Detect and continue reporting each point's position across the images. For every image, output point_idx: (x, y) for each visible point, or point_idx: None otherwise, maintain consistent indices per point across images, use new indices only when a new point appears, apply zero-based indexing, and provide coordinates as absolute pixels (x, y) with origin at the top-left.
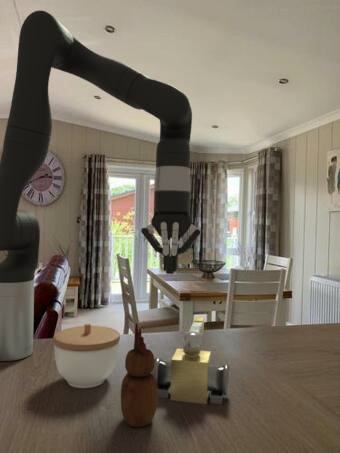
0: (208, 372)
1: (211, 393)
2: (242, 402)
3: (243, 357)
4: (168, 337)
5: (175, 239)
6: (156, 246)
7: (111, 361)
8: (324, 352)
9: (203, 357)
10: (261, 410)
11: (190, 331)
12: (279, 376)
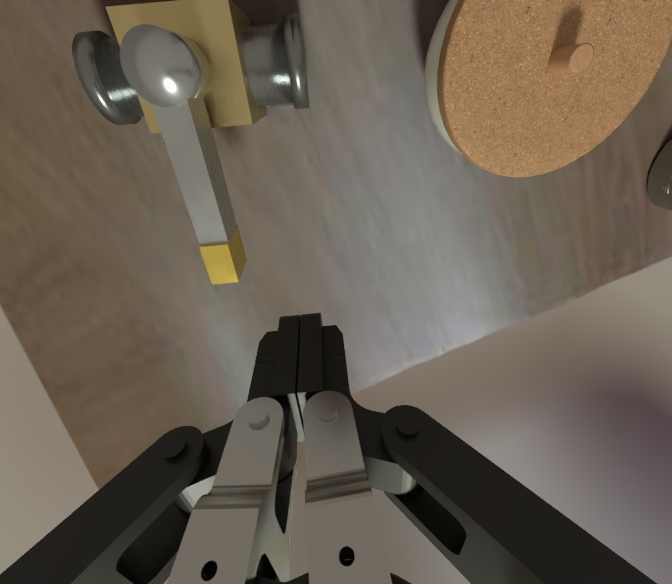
0: None
1: None
2: None
3: (190, 314)
4: (365, 360)
5: (204, 556)
6: (424, 451)
7: (433, 35)
8: (61, 382)
9: None
10: (32, 41)
11: (177, 98)
12: (84, 245)
